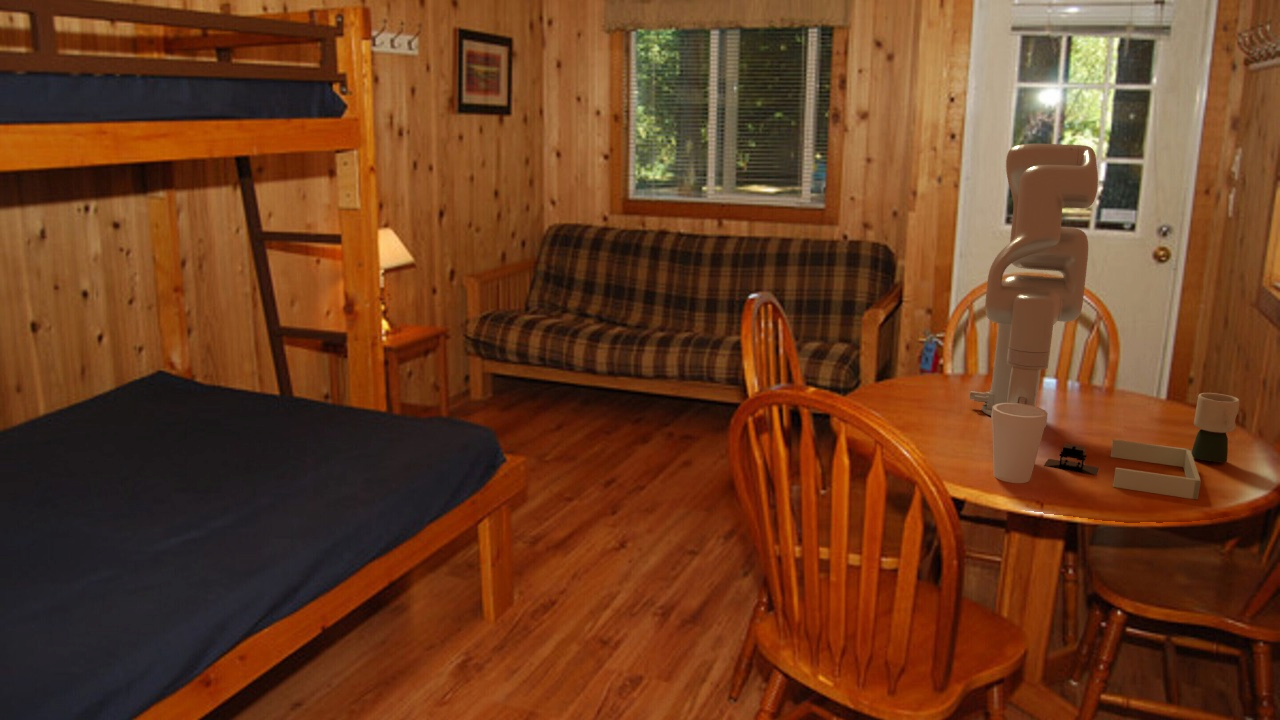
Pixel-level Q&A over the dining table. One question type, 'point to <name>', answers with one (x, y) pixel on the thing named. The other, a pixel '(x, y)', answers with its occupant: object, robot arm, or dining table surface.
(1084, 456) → the black piece
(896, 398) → the dining table surface
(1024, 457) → the foam cup
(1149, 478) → the corral
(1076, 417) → the dining table surface
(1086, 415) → the dining table surface
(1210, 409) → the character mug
